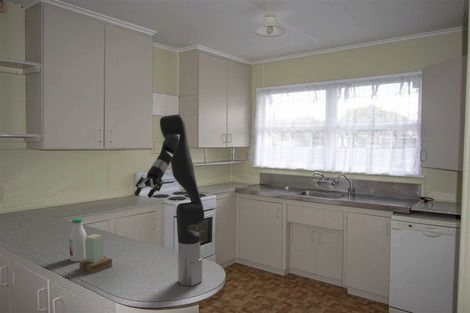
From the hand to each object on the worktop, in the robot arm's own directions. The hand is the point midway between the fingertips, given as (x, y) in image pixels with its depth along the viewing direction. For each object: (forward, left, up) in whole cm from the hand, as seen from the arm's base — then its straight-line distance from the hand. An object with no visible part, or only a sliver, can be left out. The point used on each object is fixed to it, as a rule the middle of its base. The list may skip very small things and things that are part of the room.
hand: (142, 196), depth 172 cm
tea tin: (+6, +22, -27) cm, 36 cm away
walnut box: (+6, +22, -31) cm, 39 cm away
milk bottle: (+22, +22, -31) cm, 44 cm away
